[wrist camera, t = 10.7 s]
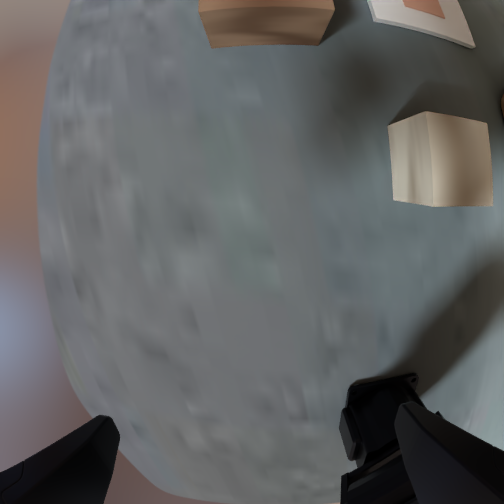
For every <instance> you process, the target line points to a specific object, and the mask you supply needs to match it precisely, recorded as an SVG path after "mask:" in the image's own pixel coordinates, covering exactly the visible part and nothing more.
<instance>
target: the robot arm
mask: <svg viewBox="0 0 504 504" xmlns="http://www.w3.org/2000/svg"><path fill="white" fill-rule="evenodd" d="M418 379H419V377H418V375H417V374H416V373H412V374H408V375H403V376H399V377H395V378H390V379H386V380H381V381H376V382H371V383H366V384H360V385H355V386H352V387H350V388H349V389H348V392H347V399H346V406H345V408H343V410H342V413H341V419H340V425H339V430H340V433H341V436H342V440H343V443H344V447H345V450H346V453H347V457H348V459H349V460H350V461H354V460H355V461H356V464H357V467H358V468H357V469H355V470H353V471H352V472H350V473H346V474H344V475H342V476H341V502H340V504H504V451H503V450H501V449H499V448H497V447H495V446H492V445H491V444H489V443H487V442H485V441H483V440H481V439H479V438H478V437H476V436H474V435H472V434H470V433H468V432H466V431H465V430H463V429H461V428H459V427H457V426H455V425H454V424H452V423H450V422H448V421H447V420H445V418H444V417H443V416H442V415H441V413H440V412H439V411H437V412H436V413H435V414H434V413H432V412H431V411H429V410H427V408H426V407H425V405H424V404H423V402H422V401H421V399H420V398H419V396H418V395H417V393H416V392H415V390H416V386H417V383H418ZM353 391H355V392H353ZM119 441H120V434H119V431H118V429H117V427H116V425H115V423H114V421H113V419H112V418H111V417H109V416H105V415H98V416H96V417H95V418H93V419H92V420H90V421H89V422H87V423H85V424H84V425H82V426H81V427H79V428H77V429H76V430H74V431H73V432H71V433H69V434H68V435H66V436H65V437H63V438H61V439H60V440H58V441H56V442H55V443H53V444H51V445H50V446H48V447H46V448H45V449H43V450H41V451H39V452H38V453H36V454H34V455H32V456H31V457H29V458H27V459H25V461H22V462H20V463H18V464H17V465H14V466H13V467H11V468H9V469H7V470H5V471H2V472H0V504H103V503H104V500H105V497H106V494H107V490H108V487H109V484H110V481H111V478H112V474H113V470H114V464H115V460H116V455H117V450H118V446H119Z"/></svg>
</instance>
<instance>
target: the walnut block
mask: <svg viewBox="0 0 504 504" xmlns="http://www.w3.org/2000/svg"><path fill="white" fill-rule="evenodd" d="M334 11H335V8H334V3H333V0H199V15H200V18H201V20H202V23H203V26H204V29H205V31H206V34H207V37H208V40H209V43H210V45H211V48H221V47H232V46H246V45H277V44H286V45H316V46H318V45H319V43H320V41H321V39H322V36H323V34H324V32H325V30H326V28H327V26H328V24H329V21H330V19H331V17H332V15H333V13H334Z"/></svg>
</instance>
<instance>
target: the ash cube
mask: <svg viewBox="0 0 504 504" xmlns="http://www.w3.org/2000/svg"><path fill="white" fill-rule="evenodd" d="M387 127H388V135H389V144H390V154H391V166H392V182H393V200H396V201H402V202H409V203H415V204H421V205H427V206H432V207H442V206H493V180H492V163H491V151H490V142H489V134H488V127H487V123H484V122H480V121H476V120H471V119H467V118H462V117H457V116H452V115H446V114H440V113H434V112H428V111H424V112H422V113H419V114H416V115H414V116H411V117H409V118H406V119H404V120H401V121H398V122H396V123H393V124H391V125H388V126H387Z"/></svg>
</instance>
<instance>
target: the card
mask: <svg viewBox="0 0 504 504" xmlns="http://www.w3.org/2000/svg"><path fill="white" fill-rule="evenodd" d="M367 1H368V5H369V8H370V11H371V14H372V18H373V21H374V22H378V23H384V24H389V25H394V26H398V27H403V28H407V29H411V30H415V31H419V32H422V33H426V34H430V35H433V36H436V37H439V38H443V39H446V40H449V41H452V42H454V43H457V44H460V45H463V46H465V47H468V48H471V49H473V48H475V44H474V41H473V38H472V35H471V32H470V29H469V27H468V24H467V22H466V19H465V17H464V14H463V12H462V9H461V7H460V5H459V3H458V0H367Z"/></svg>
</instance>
